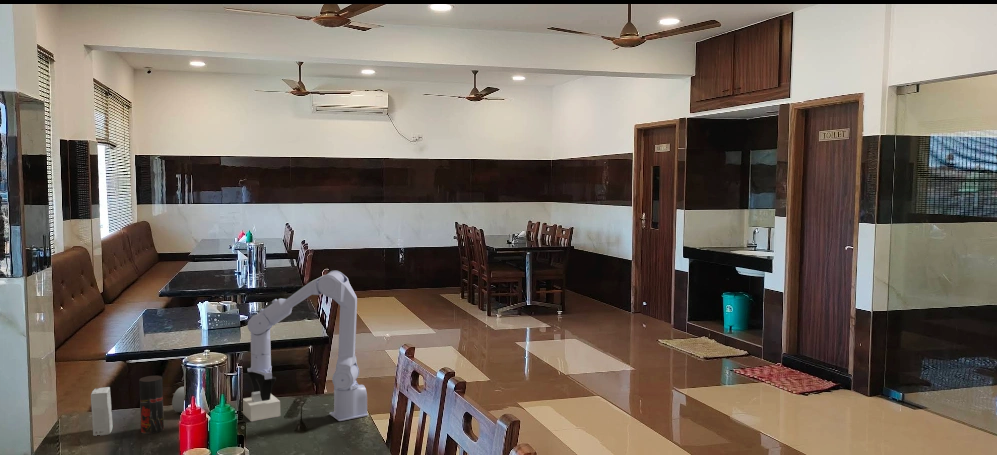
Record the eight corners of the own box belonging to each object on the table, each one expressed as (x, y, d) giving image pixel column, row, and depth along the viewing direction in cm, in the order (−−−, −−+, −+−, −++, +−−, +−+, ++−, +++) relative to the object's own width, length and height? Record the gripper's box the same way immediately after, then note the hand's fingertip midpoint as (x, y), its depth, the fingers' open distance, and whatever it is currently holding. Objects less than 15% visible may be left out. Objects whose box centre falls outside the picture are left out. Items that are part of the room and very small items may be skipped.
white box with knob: (271, 407, 231) (271, 386, 230) (280, 416, 224) (280, 393, 223) (242, 413, 226) (242, 390, 225) (251, 421, 219) (250, 398, 218)
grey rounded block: (195, 417, 222) (195, 392, 221) (171, 415, 224) (171, 390, 223) (216, 407, 232) (216, 383, 232) (193, 404, 234) (193, 381, 233)
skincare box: (109, 434, 207) (108, 392, 206) (91, 436, 206) (90, 394, 205) (113, 427, 213) (111, 386, 212) (95, 429, 212) (94, 387, 211)
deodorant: (167, 429, 211) (165, 378, 210) (146, 435, 207) (144, 382, 206) (158, 424, 215) (157, 374, 214) (137, 429, 211) (135, 378, 210)
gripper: (240, 349, 227) (241, 392, 228) (254, 360, 215) (255, 405, 216) (263, 346, 231) (264, 389, 232) (278, 356, 219) (279, 401, 220)
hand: (261, 396), depth 224 cm, fingers open, 7 cm apart
